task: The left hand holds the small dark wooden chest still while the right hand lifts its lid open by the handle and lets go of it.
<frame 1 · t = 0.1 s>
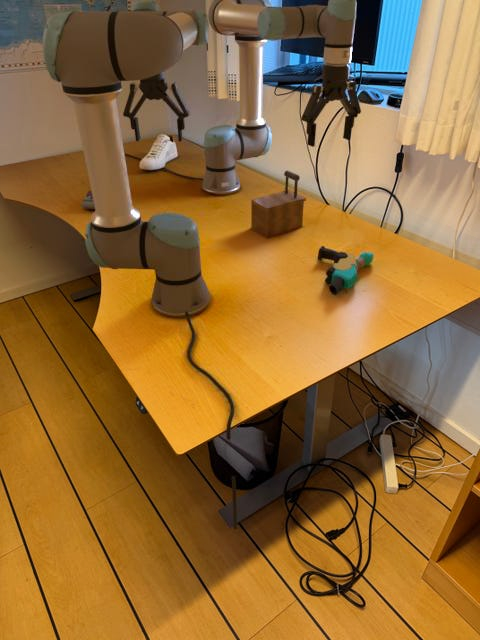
left hand: (159, 140, 150), 28 cm above the table, tool pointing down, fingers open, 13 cm apart
right hand: (329, 142, 146), 28 cm above the table, tool pointing down, fingers open, 13 cm apart
toy gun: (108, 205, 179), on the table
sneaker: (158, 164, 218), on the table
toy gun 2: (336, 275, 136), on the table
lid: (279, 189, 154), point 13 cm above the table, hinge at 0.0°
chest: (276, 227, 162), on the table
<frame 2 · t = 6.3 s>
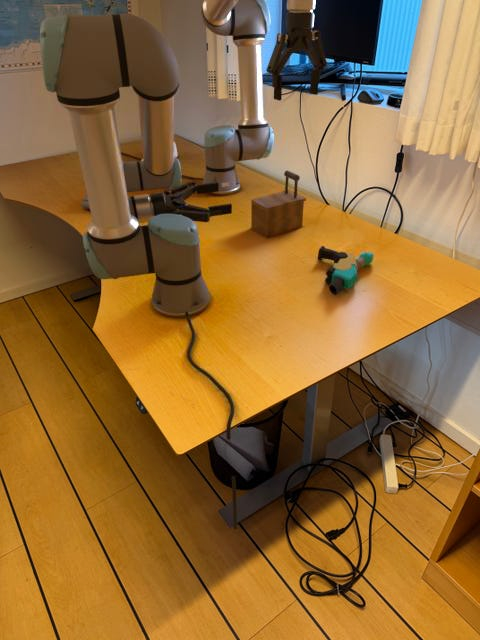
left hand: (224, 197, 137), 18 cm above the table, tool horizontal, fingers open, 13 cm apart
right hand: (295, 96, 141), 40 cm above the table, tool pointing down, fingers open, 13 cm apart
nothing on the table moved.
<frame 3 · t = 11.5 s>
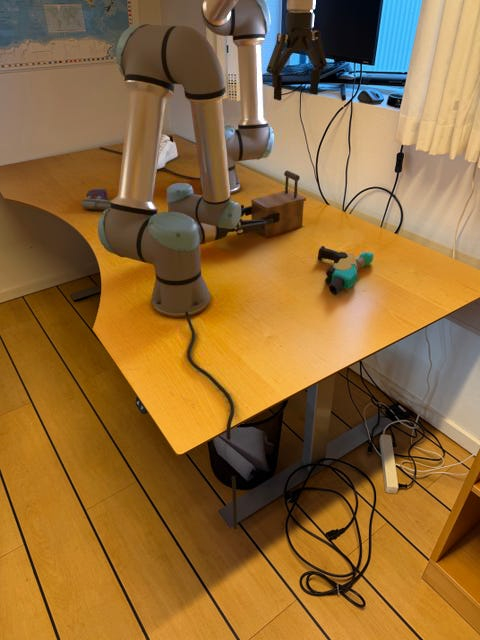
left hand: (270, 212, 157), 6 cm above the table, tool horizontal, fingers closed on chest, 9 cm apart
right hand: (295, 96, 141), 40 cm above the table, tool pointing down, fingers open, 13 cm apart
chest: (276, 227, 162), on the table, touching left hand
everything else where it was.
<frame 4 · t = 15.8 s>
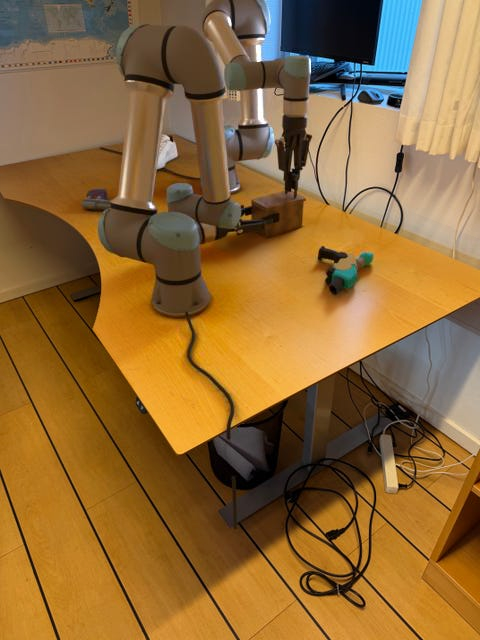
left hand: (269, 212, 157), 6 cm above the table, tool horizontal, fingers closed on chest, 9 cm apart
right hand: (291, 189, 157), 12 cm above the table, tool pointing down, fingers closed on lid, 2 cm apart
lid: (279, 189, 154), point 13 cm above the table, hinge at -0.1°, touching right hand
chest: (276, 227, 162), on the table, touching left hand
everything else where it was.
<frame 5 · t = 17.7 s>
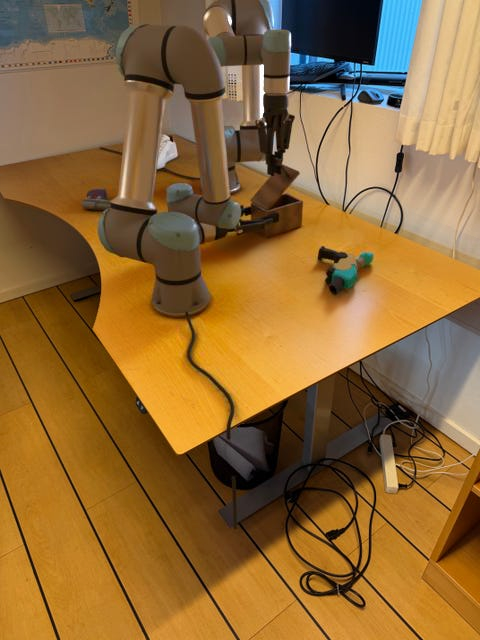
left hand: (269, 212, 157), 6 cm above the table, tool horizontal, fingers closed on chest, 9 cm apart
right hand: (274, 173, 150), 19 cm above the table, tool pointing down, fingers closed on lid, 2 cm apart
lid: (268, 179, 150), point 17 cm above the table, hinge at 36.9°, touching right hand
chest: (276, 227, 162), on the table, touching left hand
everything else where it was.
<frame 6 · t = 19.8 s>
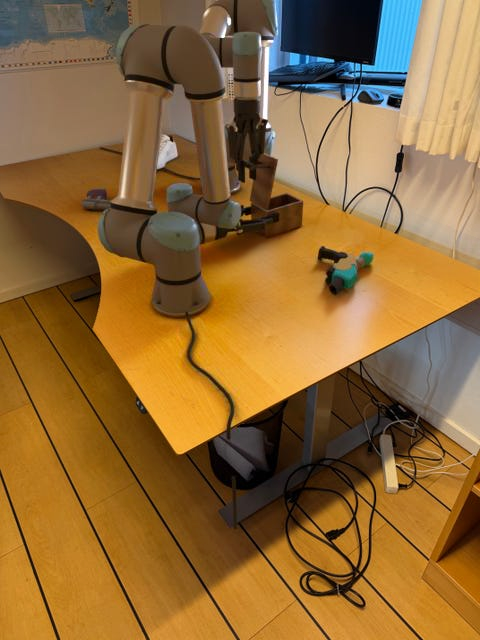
left hand: (269, 212, 157), 6 cm above the table, tool horizontal, fingers closed on chest, 9 cm apart
right hand: (247, 179, 146), 19 cm above the table, tool pointing down, fingers open, 3 cm apart
lid: (253, 181, 147), point 18 cm above the table, hinge at 77.3°
chest: (276, 227, 162), on the table, touching left hand
everything else where it was.
when the left hand's fingers open (6 cm above the table, at t = 23.9 s): chest stays where it is, on the table.
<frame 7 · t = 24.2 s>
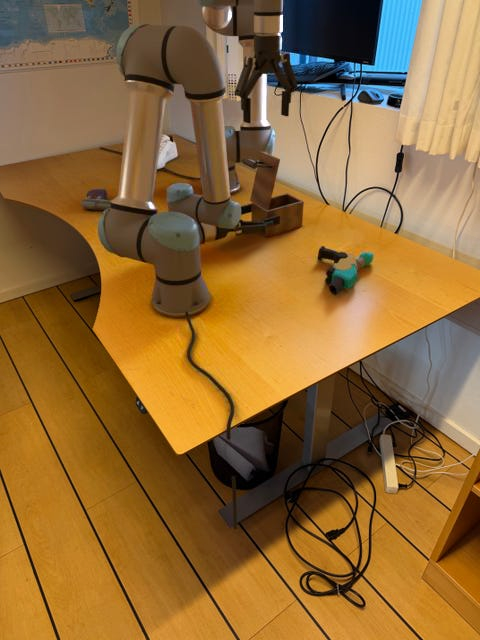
left hand: (267, 212, 157), 6 cm above the table, tool horizontal, fingers open, 12 cm apart
right hand: (266, 118, 139), 36 cm above the table, tool pointing down, fingers open, 13 cm apart
lid: (255, 180, 147), point 18 cm above the table, hinge at 75.7°
chest: (276, 227, 162), on the table
everything else where it was.
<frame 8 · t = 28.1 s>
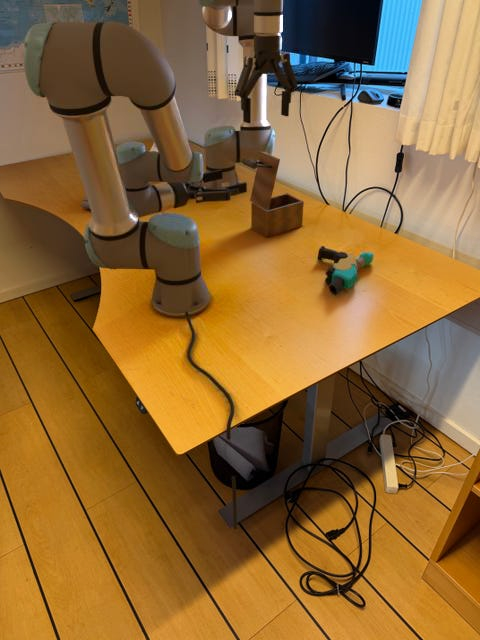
left hand: (233, 180, 143), 20 cm above the table, tool horizontal, fingers open, 13 cm apart
right hand: (266, 118, 139), 36 cm above the table, tool pointing down, fingers open, 13 cm apart
nothing on the table moved.
at the end: lid at +76° (first picture: +0°); the left hand is holding nothing; the right hand is holding nothing; chest tilted 0°; chest never tilted more than 1° during the clip; chest moved 0.2 cm from its start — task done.
